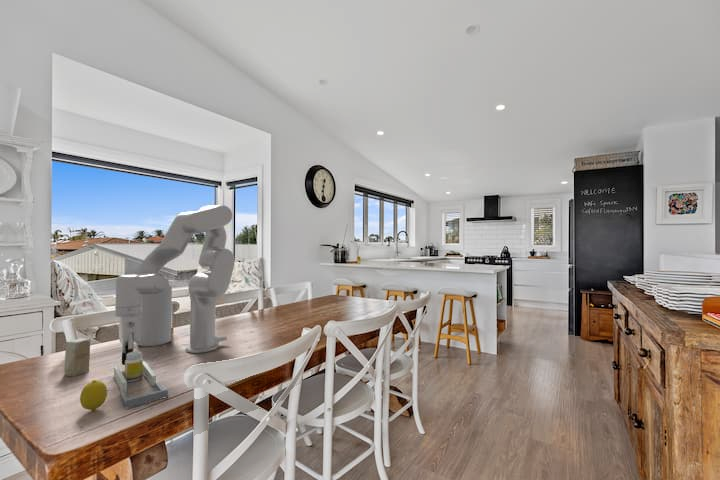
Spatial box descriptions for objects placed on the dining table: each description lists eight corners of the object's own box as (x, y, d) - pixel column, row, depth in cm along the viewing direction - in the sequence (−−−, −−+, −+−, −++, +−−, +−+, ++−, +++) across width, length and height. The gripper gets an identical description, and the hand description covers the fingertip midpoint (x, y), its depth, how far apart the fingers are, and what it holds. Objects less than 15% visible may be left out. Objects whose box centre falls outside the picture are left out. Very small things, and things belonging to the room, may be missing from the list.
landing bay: (159, 385, 104) (159, 378, 104) (167, 396, 96) (168, 389, 96) (119, 394, 97) (119, 388, 97) (125, 408, 89) (125, 400, 89)
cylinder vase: (177, 340, 150) (178, 285, 150) (149, 348, 138) (150, 288, 139) (158, 337, 155) (159, 283, 155) (130, 344, 144) (131, 286, 144)
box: (74, 376, 109) (75, 342, 109) (63, 375, 110) (64, 341, 110) (90, 370, 114) (90, 338, 114) (80, 369, 115) (80, 337, 115)
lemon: (89, 405, 90) (90, 376, 90) (111, 405, 91) (112, 375, 91) (74, 416, 85) (74, 384, 85) (97, 415, 85) (97, 384, 85)
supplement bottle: (145, 377, 109) (145, 352, 109) (130, 383, 105) (130, 356, 105) (136, 375, 111) (136, 349, 111) (121, 380, 107) (121, 354, 107)
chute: (144, 369, 116) (144, 360, 116) (155, 385, 104) (156, 375, 104) (114, 376, 110) (114, 366, 110) (122, 393, 98) (122, 383, 98)
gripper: (145, 312, 113) (144, 367, 113) (137, 306, 124) (136, 355, 124) (118, 315, 108) (117, 372, 108) (112, 308, 119) (111, 360, 119)
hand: (127, 363), depth 116 cm, fingers closed
